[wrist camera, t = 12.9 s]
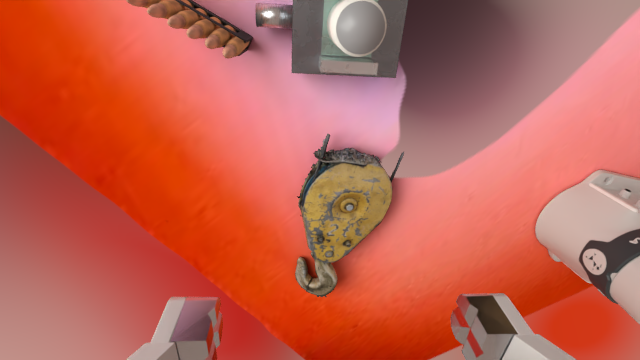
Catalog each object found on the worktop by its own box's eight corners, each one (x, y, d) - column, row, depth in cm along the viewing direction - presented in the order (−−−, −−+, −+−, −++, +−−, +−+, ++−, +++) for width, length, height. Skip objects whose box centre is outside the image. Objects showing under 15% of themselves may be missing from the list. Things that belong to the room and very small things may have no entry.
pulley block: (269, 304, 55) (327, 142, 42) (266, 277, 60) (317, 125, 47) (346, 307, 60) (419, 162, 46) (338, 282, 65) (402, 144, 51)
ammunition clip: (253, 37, 41) (239, 51, 31) (246, 50, 42) (231, 69, 31) (167, -15, 38) (118, -19, 27) (162, 1, 39) (112, 3, 28)
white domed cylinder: (377, 0, 34) (393, 0, 29) (368, 51, 37) (382, 60, 31) (329, -6, 34) (337, -7, 29) (324, 46, 36) (330, 55, 31)
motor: (397, -31, 38) (424, -38, 31) (383, 67, 44) (402, 83, 36) (257, -42, 37) (247, -51, 29) (260, 61, 42) (252, 76, 35)
